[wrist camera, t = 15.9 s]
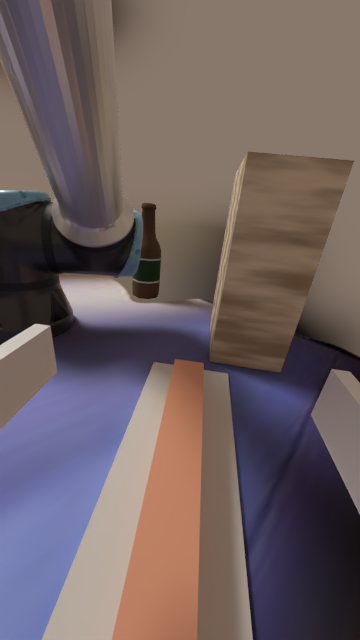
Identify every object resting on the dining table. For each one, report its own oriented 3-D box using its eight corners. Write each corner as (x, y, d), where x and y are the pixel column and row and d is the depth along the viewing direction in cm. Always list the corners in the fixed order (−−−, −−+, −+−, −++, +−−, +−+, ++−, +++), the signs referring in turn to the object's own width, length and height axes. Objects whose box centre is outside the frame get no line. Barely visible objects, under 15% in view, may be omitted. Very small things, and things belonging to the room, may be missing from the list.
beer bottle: (163, 294, 70) (170, 205, 60) (149, 301, 63) (154, 203, 53) (142, 288, 73) (144, 203, 62) (126, 295, 66) (126, 200, 56)
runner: (153, 363, 38) (153, 361, 38) (227, 375, 37) (228, 373, 37) (4, 738, 11) (2, 736, 11) (266, 817, 10) (269, 816, 10)
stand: (210, 319, 56) (235, 175, 44) (260, 326, 55) (300, 181, 43) (209, 361, 40) (247, 151, 27) (280, 372, 39) (354, 160, 26)
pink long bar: (172, 381, 34) (175, 358, 32) (200, 385, 34) (203, 363, 32) (29, 1067, 7) (-5, 1154, 5) (167, 1115, 6) (182, 1219, 5)
